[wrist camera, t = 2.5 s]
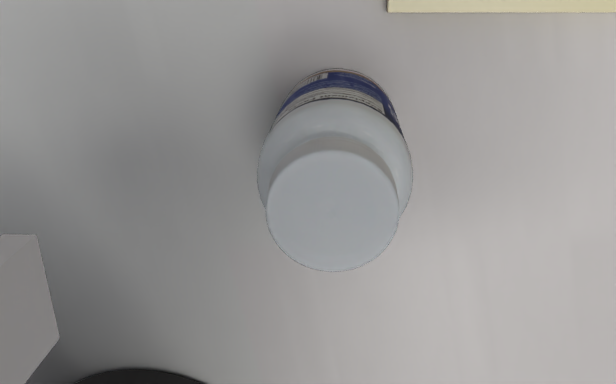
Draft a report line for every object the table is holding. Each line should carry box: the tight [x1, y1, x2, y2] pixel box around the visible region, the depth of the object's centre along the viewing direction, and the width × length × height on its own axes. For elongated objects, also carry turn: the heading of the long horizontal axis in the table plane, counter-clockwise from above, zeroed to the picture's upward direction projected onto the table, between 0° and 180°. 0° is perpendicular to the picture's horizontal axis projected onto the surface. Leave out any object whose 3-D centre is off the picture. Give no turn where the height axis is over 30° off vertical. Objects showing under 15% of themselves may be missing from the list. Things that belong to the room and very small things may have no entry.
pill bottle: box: [257, 69, 413, 272], centre depth 20 cm, size 5×5×10 cm
